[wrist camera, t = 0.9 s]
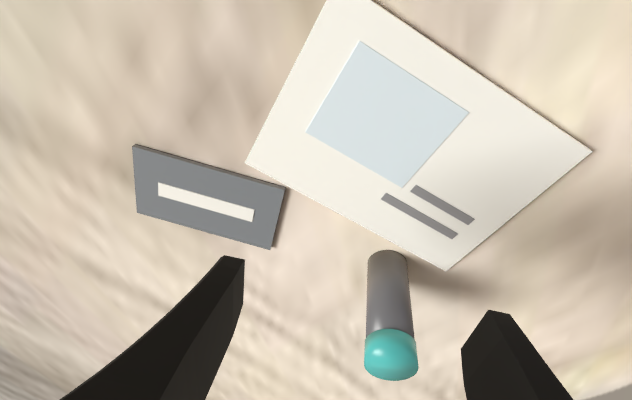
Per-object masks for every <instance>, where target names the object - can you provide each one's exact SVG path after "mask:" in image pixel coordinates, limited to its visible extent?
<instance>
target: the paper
mask: <svg viewBox="0 0 632 400" xmlns="http://www.w3.org/2000/svg"><path fill="white" fill-rule="evenodd" d="M591 152H592V151H591V150H590V149H589V148H588V147H586V146H585V145H583V144H582V143H580V142H579V141H578V140H576V139H575V138H573V137H572V136H570V135H569V134H567V133H566V132H564V131H563V130H561V129H560V128H558V127H557V126H556V125H554V124H553V123H551V122H550V121H548V120H547V119H545V118H544V117H542V116H541V115H539V114H538V113H537V112H535V111H534V110H532V109H531V108H529V107H528V106H526V105H525V104H523V103H522V102H520V101H519V100H518V99H516V98H515V97H513V96H512V95H510V94H509V93H507V92H506V91H504V90H503V89H501V88H500V87H498V86H497V85H496V84H494V83H493V82H491V81H490V80H488V79H487V78H485V77H484V76H482V75H481V74H479V73H478V72H477V71H475V70H474V69H472V68H471V67H469V66H468V65H466V64H465V63H463V62H462V61H460V60H459V59H458V58H456V57H455V56H453V55H452V54H450V53H449V52H447V51H446V50H444V49H443V48H441V47H440V46H438V45H437V44H436V43H434V42H433V41H431V40H430V39H428V38H427V37H425V36H424V35H422V34H421V33H419V32H418V31H417V30H415V29H414V28H412V27H411V26H409V25H408V24H406V23H405V22H403V21H402V20H400V19H399V18H398V17H396V16H395V15H393V14H392V13H390V12H389V11H387V10H386V9H384V8H383V7H381V6H380V5H378V4H377V3H376V2H374V1H373V0H327V1H326V3H325V5H324V7H323V9H322V10H321V12H320V14H319V16H318V18H317V20H316V22H315V24H314V26H313V28H312V30H311V32H310V34H309V36H308V38H307V40H306V42H305V44H304V46H303V48H302V50H301V52H300V54H299V56H298V58H297V60H296V62H295V64H294V66H293V68H292V70H291V72H290V74H289V76H288V78H287V80H286V82H285V84H284V86H283V88H282V90H281V92H280V94H279V96H278V98H277V100H276V102H275V104H274V106H273V108H272V110H271V112H270V114H269V116H268V118H267V120H266V122H265V124H264V126H263V128H262V129H261V131H260V133H259V135H258V137H257V139H256V141H255V143H254V145H253V147H252V149H251V151H250V153H249V155H248V157H247V159H246V161H245V164H247V165H249V166H251V167H253V168H255V169H257V170H258V171H260V172H262V173H264V174H266V175H268V176H270V177H271V178H273V179H275V180H277V181H279V182H281V183H283V184H284V185H286V186H288V187H290V188H292V189H294V190H296V191H297V192H299V193H301V194H303V195H305V196H307V197H309V198H310V199H312V200H314V201H316V202H318V203H320V204H322V205H323V206H325V207H327V208H329V209H331V210H333V211H334V212H336V213H338V214H340V215H342V216H344V217H346V218H347V219H349V220H351V221H353V222H355V223H357V224H359V225H360V226H362V227H364V228H366V229H368V230H370V231H372V232H373V233H375V234H377V235H379V236H381V237H383V238H385V239H386V240H388V241H390V242H392V243H394V244H396V245H398V246H399V247H401V248H403V249H405V250H407V251H409V252H411V253H412V254H414V255H416V256H418V257H420V258H422V259H423V260H425V261H427V262H429V263H431V264H433V265H435V266H436V267H438V268H440V269H442V270H444V271H447V270H448V269H450V268H451V267H452V266H453V265H454V264H456V263H457V262H458V261H459V260H461V259H462V258H463V257H464V256H465V255H467V254H468V253H469V252H470V251H472V250H473V249H474V248H475V247H476V246H478V245H479V244H480V243H481V242H483V241H484V240H485V239H486V238H487V237H489V236H490V235H491V234H492V233H494V232H495V231H496V230H497V229H498V228H500V227H501V226H502V225H503V224H505V223H506V222H507V221H508V220H509V219H511V218H512V217H513V216H514V215H516V214H517V213H518V212H519V211H520V210H522V209H523V208H524V207H525V206H526V205H528V204H529V203H530V202H531V201H533V200H534V199H535V198H536V197H537V196H539V195H540V194H541V193H542V192H544V191H545V190H546V189H547V188H548V187H550V186H551V185H552V184H553V183H555V182H556V181H557V180H558V179H559V178H561V177H562V176H563V175H564V174H566V173H567V172H568V171H569V170H570V169H572V168H573V167H574V166H575V165H577V164H578V163H579V162H580V161H581V160H583V159H584V158H585V157H586V156H588V155H589V154H590V153H591Z"/></svg>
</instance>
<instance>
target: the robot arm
mask: <svg viewBox="0 0 632 400" xmlns="http://www.w3.org/2000/svg"><path fill="white" fill-rule="evenodd" d="M244 265H245V260H244V259H239V258H235V257H230V256H223V257H221V258H220V259H219V260H218V261H217V263H216V264H215V265H214V266H213V267H212V268H211V269H210V271H209V272H208V273H207V274H206V275H205V276H204V277H203V278H202V279H201V280H200V281H199V283H198V284H197V285H196V286H195V287H194V288H193V289H192V290H191V291H190V292H189V293H188V294H187V295H186V296H185V297H184V298H183V299H182V300H181V301H180V302H179V303H178V304H177V305H176V306H175V307H174V308H173V309H172V310H171V311H170V312H168V313H167V314H166V315H165V316H164V317H163V318H162V319H161V320H160V321H159V322H158V323H156V324H155V325H154V326H153V327H152V328H151V329H150V330H149V331H147V332H146V333H145V334H144V335H143V336H142V337H141V338H140V339H138V340H137V341H136V342H135V343H134V344H132V345H131V346H130V347H129V348H128V349H126V350H125V351H124V352H123V353H122V354H120V355H119V356H118V357H117V358H115V359H114V360H113V361H111V362H110V363H109V364H108V365H106V366H105V367H104V368H103V369H101V370H100V371H99V372H97V373H96V374H95V375H93V376H92V377H90V378H89V379H88V380H86V381H85V382H84V383H82V384H81V385H80V386H78V387H77V388H75V389H74V390H73V391H71V392H70V393H69V394H67V395H66V396H64V397H63V398H61V399H60V400H205V399H206V396H207V394H208V392H209V389H210V387H211V385H212V383H213V380H214V378H215V376H216V374H217V371H218V369H219V367H220V364H221V362H222V360H223V358H224V355H225V353H226V351H227V348H228V346H229V344H230V341H231V339H232V337H233V334H234V331H235V328H236V325H237V321H238V318H239V315H240V312H241V309H242V305H243V292H244ZM461 357H462V370H463V380H464V387H465V392H466V397H467V400H573V398H572V397H571V396H570V395H569V393H568V392H567V391H566V389H565V388H564V387H563V385H562V384H561V383H560V381H559V380H558V379H557V378H556V376H555V375H554V374H553V372H552V371H551V369H550V368H549V367H548V365H547V364H546V363H545V361H544V360H543V359H542V357H541V356H540V355H539V353H538V352H537V351H536V349H535V348H534V346H533V345H532V344H531V342H530V341H529V340H528V338H527V337H526V335H525V334H524V333H523V331H522V330H521V329H520V327H519V326H518V325H517V323H516V322H515V321H514V319H513V318H512V317H511V315H510V314H506V313H502V312H497V311H492V310H488V311H487V312H486V314H485V315H484V317H483V318H482V320H481V321H480V322H479V324H478V325H477V327H476V328H475V330H474V331H473V332H472V334H471V335H470V337H469V338H468V340H467V341H466V343H465V344H464V345H463V347H462V348H461Z"/></svg>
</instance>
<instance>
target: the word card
mask: <svg viewBox="0 0 632 400" xmlns="http://www.w3.org/2000/svg"><path fill="white" fill-rule="evenodd" d="M132 150H133V164H134V178H135V192H136V206H137V213H140V214H144V215H147V216H151V217H154V218H158V219H161V220H165V221H169V222H172V223H176V224H179V225H183V226H186V227H190V228H193V229H197V230H201V231H204V232H208V233H211V234H215V235H218V236H222V237H225V238H229V239H232V240H236V241H240V242H243V243H247V244H250V245H254V246H257V247H261V248H264V249H268V250H270V249H271V246H272V242H273V238H274V233H275V229H276V225H277V221H278V217H279V213H280V209H281V205H282V200H283V196H284V192H285V188H286V187H282V186H279V185H275V184H272V183H268V182H265V181H261V180H258V179H255V178H251V177H248V176H244V175H241V174H237V173H234V172H230V171H227V170H223V169H220V168H216V167H213V166H209V165H206V164H202V163H199V162H196V161H192V160H189V159H185V158H182V157H178V156H175V155H171V154H168V153H164V152H161V151H157V150H154V149H150V148H147V147H143V146H140V145H136V144H135V145H133V146H132Z"/></svg>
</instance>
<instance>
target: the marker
mask: <svg viewBox="0 0 632 400" xmlns="http://www.w3.org/2000/svg"><path fill="white" fill-rule="evenodd" d="M364 366H365V368H366V370H367V371H368V372H369V373H370V374H371V375H373V376H375V377H377V378H380V379H384V380H390V381H399V380H405V379H408V378H410V377H412V376H414V375H415V374H416V373H417V371H418V359H417V350H416V342H415V340H414V330H413V320H412V310H411V301H410V291H409V281H408V271H407V262H406V259H405V258H404V257H403V256H402V255H401V254H400V253H398V252H395V251H391V250H383V251H378V252H376V253H374V254H373V255H372V256H371V257H370V258H369V260H368V275H367V316H366V339H365V357H364Z"/></svg>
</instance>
